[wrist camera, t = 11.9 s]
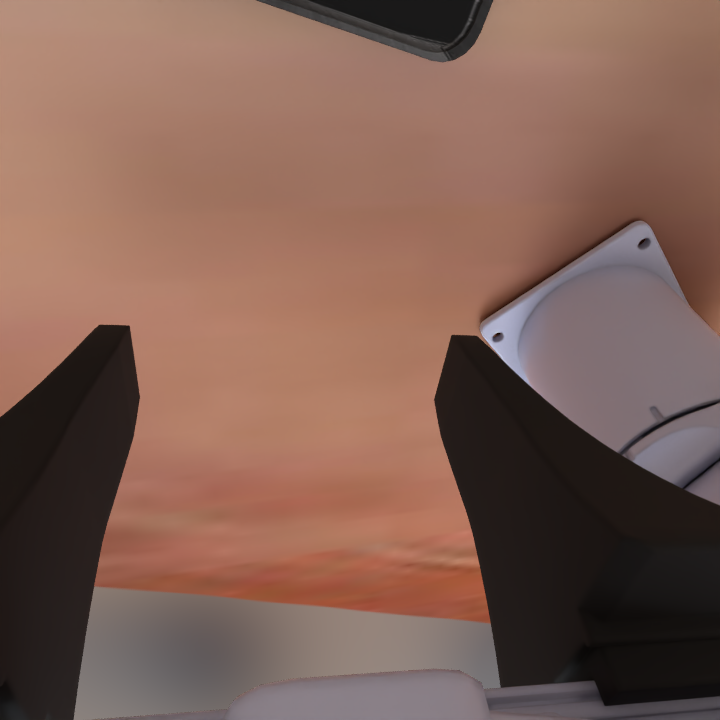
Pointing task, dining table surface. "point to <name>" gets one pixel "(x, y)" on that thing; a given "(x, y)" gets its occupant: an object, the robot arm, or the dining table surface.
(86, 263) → the dining table surface
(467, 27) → the phone
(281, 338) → the dining table surface
